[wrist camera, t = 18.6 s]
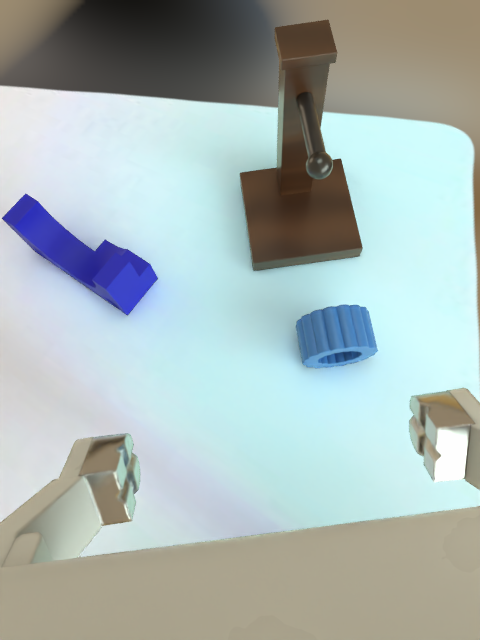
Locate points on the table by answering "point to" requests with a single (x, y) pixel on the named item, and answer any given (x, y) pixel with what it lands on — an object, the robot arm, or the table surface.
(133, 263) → the cable clip
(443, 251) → the table surface
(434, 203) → the table surface
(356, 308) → the fluted cylinder
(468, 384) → the table surface
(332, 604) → the robot arm
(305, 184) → the hook stand
